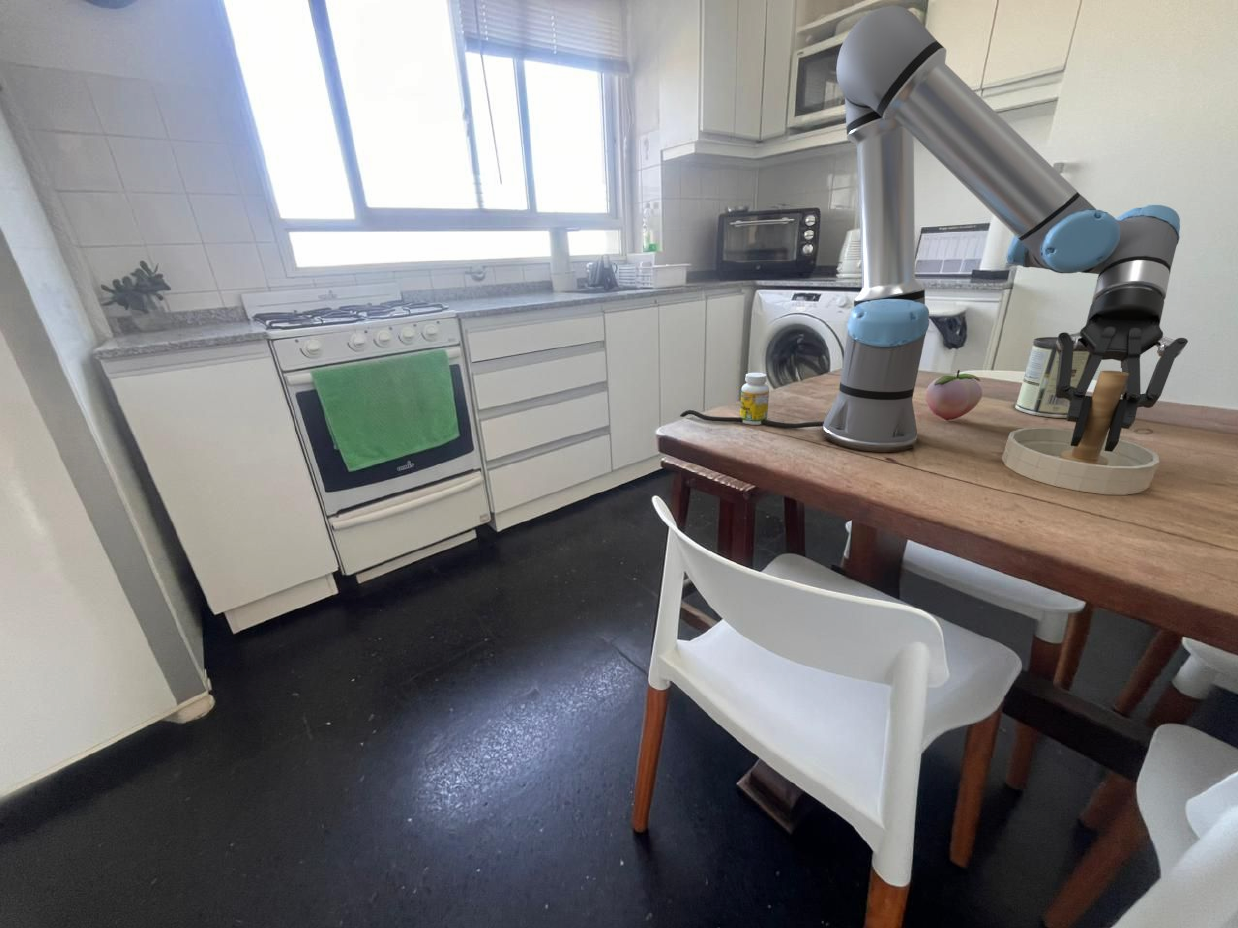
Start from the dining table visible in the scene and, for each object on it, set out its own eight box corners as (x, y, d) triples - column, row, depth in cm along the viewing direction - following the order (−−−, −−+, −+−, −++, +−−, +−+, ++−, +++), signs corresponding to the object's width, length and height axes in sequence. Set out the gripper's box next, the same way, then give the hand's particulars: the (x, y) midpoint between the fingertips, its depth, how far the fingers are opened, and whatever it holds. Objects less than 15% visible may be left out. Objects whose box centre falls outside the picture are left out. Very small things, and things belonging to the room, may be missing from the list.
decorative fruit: (944, 411, 102) (956, 363, 98) (982, 423, 95) (996, 371, 91) (909, 417, 99) (919, 368, 95) (945, 429, 92) (958, 376, 88)
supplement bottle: (771, 423, 98) (776, 376, 95) (747, 426, 97) (750, 378, 93) (758, 416, 103) (761, 370, 99) (734, 419, 102) (737, 373, 98)
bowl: (1015, 487, 69) (1024, 458, 67) (991, 448, 83) (998, 423, 81) (1171, 507, 63) (1186, 475, 61) (1117, 461, 76) (1128, 434, 74)
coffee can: (1051, 403, 105) (1072, 335, 99) (1093, 417, 95) (1120, 344, 90) (1002, 404, 105) (1021, 337, 100) (1039, 419, 96) (1062, 345, 90)
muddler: (1066, 467, 69) (1097, 375, 64) (1054, 454, 73) (1083, 367, 68) (1112, 472, 67) (1148, 378, 62) (1098, 459, 71) (1131, 369, 66)
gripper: (1195, 322, 69) (1167, 469, 64) (1050, 317, 79) (1015, 445, 73) (1221, 284, 63) (1192, 442, 58) (1060, 284, 73) (1023, 420, 68)
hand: (1093, 443), depth 66 cm, fingers closed on muddler, 3 cm apart
